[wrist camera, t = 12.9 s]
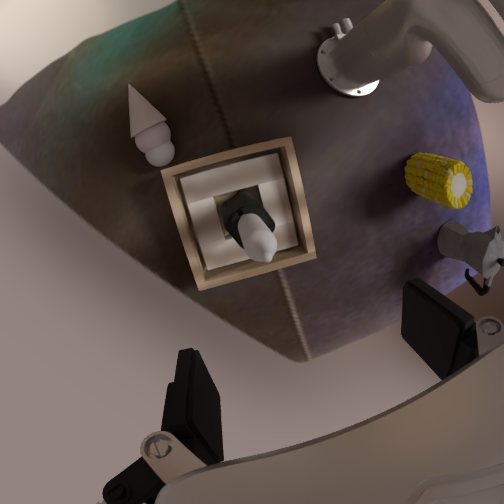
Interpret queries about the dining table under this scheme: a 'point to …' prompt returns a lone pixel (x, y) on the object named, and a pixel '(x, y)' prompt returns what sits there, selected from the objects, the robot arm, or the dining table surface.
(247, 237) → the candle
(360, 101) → the dining table surface
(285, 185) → the box
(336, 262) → the dining table surface
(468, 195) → the food
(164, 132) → the ice cream cone
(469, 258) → the coffeepot
